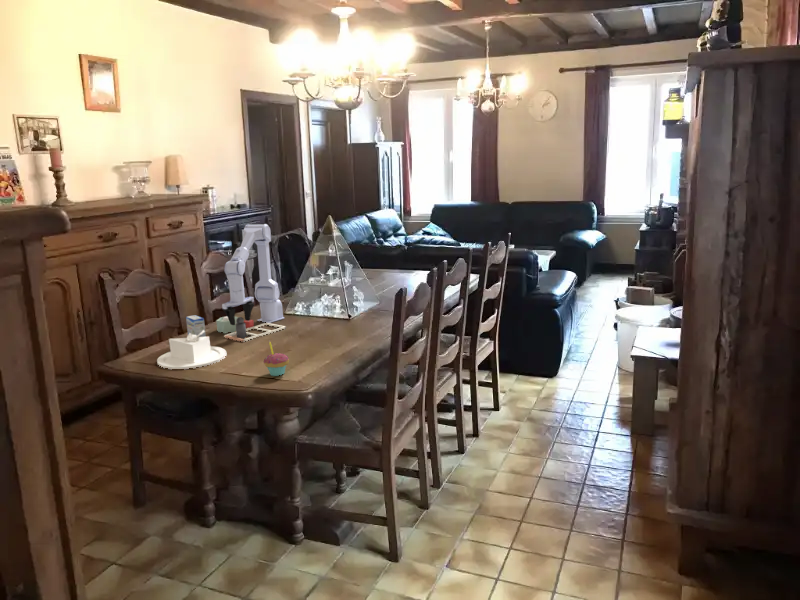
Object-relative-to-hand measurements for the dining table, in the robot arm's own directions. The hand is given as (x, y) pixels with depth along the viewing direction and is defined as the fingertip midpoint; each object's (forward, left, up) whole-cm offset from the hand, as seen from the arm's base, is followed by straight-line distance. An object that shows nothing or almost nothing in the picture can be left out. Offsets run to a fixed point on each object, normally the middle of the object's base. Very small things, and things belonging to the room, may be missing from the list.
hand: (240, 322), depth 271 cm
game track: (-7, 0, -6) cm, 10 cm away
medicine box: (+10, -17, -7) cm, 21 cm away
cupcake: (+22, +47, -7) cm, 52 cm away
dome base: (-4, -14, -6) cm, 16 cm away
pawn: (0, 0, -6) cm, 6 cm away
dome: (-4, -14, -5) cm, 15 cm away
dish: (+28, +6, -7) cm, 29 cm away
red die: (-11, -9, -6) cm, 16 cm away
